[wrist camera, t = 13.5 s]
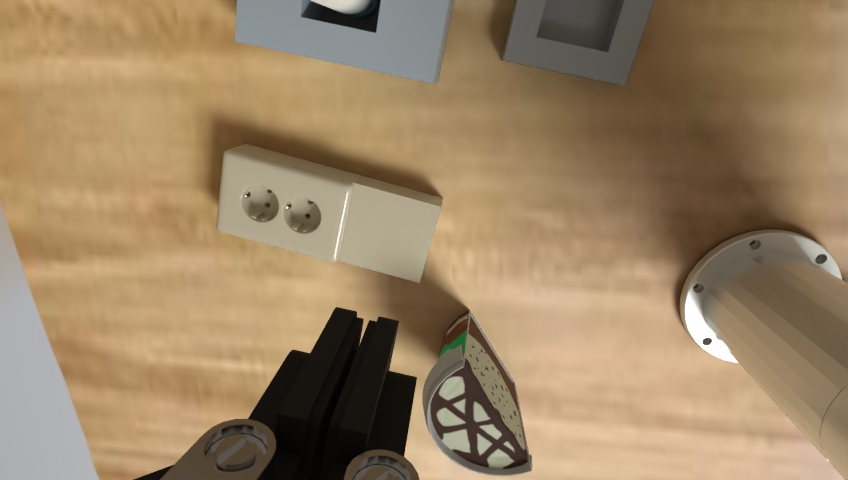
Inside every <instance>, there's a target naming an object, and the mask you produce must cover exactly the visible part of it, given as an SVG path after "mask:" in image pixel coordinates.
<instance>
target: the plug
mask: <svg viewBox="0 0 848 480" xmlns="http://www.w3.org/2000/svg"><path fill="white" fill-rule="evenodd" d="M311 1H313V2H316V3H318V4H321V5H323V6H326V7H328V8H331V9H333V10H336V11H338V12H340V13H343V14H345V15H348V16H350V17H353V18H357V19H363V18H367V17H369V16H371V15H373V14H374V13H375V12H376V11H377V9H378V8H379V6H380V3H381V0H311Z"/></svg>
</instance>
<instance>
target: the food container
mask: <svg viewBox="0 0 848 480" xmlns="http://www.w3.org/2000/svg"><path fill="white" fill-rule="evenodd" d="M423 408H424V414H425V420H426V424H427V427H428V430H429V432H430V434H431V436H432V438H433V440H434V441H435V443H436V445H437V446H438V447H439V448H440V450H441V451H442V452H443V453H444V454H445V455H446V456H447V457H448V458H450V459H451V460H452V461H454V462H455V463H457V464H458V465H460V466H462V467H464V468H466V469H468V470H471V471H474V472H477V473H481V474H486V475H493V476H513V475H519V474H524V473H528V472H531V471H532V468H531V467H532V456H531V455H529V452H528V447H527V442H526V437H525V432H524V427H523V422H522V417H521V412H520V407H519V402H518V396H517V391H516V386H515V383H514V381H513V379H512V378H511V376H510V375H509V373H508V371H507V370H506V368H505V366H504V365H503V363H502V362H501V360H500V358H499V357H498V355H497V354H496V352H495V350H494V349H493V347H492V346H491V344H490V342H489V341H488V339H487V337H486V336H485V334H484V333H483V331H482V329H481V328H480V326H479V325H478V323H477V321H476V320H475V318H474V317H473V315H472V313H471V312H470V310H469V311H467V312H465V313H464V314H462V315H460V316H459V317H458V318H457V319H456V320H455V321H454V322H453V323H452V324H451V325H450V326H449V328H448V330H447V332H446V335H445V337H444V339H443V343H442V347H441V351H440V355H439V360H438V362H437V363H436V364H435V365H434V367H433V368H432V370H431V371H430V373H429V374H428V377H427V379H426V381H425V384H424V389H423Z"/></svg>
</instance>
